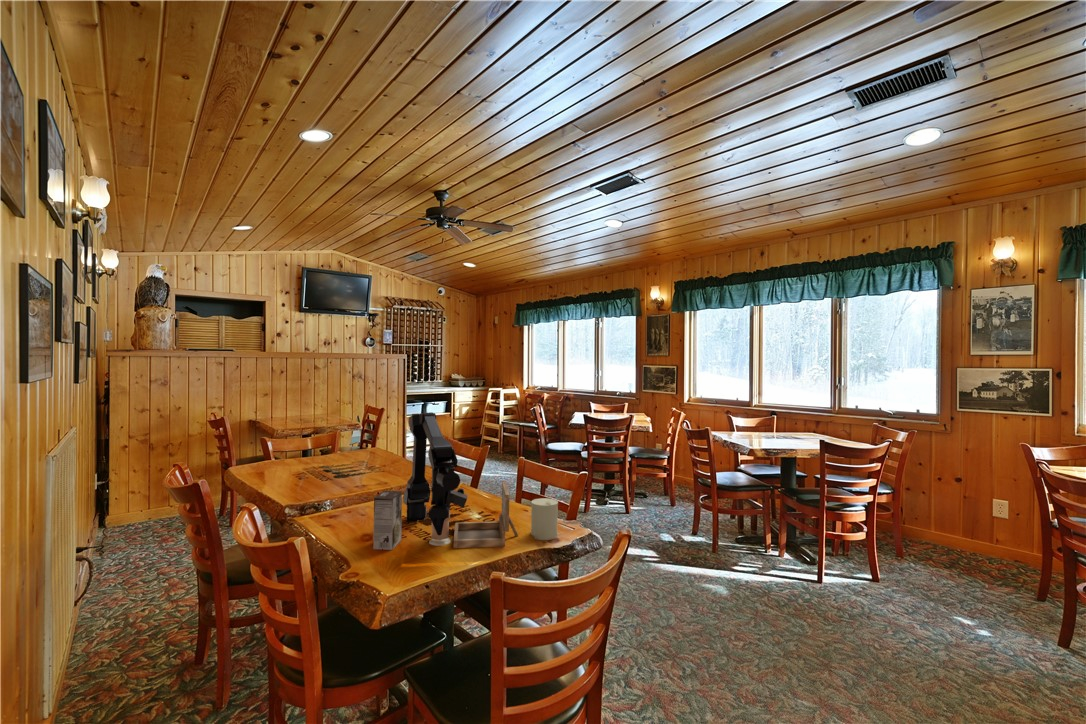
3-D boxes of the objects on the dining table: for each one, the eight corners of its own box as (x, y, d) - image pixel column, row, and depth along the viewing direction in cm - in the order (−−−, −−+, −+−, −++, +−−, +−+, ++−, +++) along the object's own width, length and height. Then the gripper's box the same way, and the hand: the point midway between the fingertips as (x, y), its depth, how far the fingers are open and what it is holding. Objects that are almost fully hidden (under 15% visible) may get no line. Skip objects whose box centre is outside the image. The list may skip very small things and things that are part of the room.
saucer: (427, 548, 161) (427, 545, 161) (429, 540, 168) (429, 538, 168) (450, 547, 162) (450, 545, 162) (451, 539, 169) (451, 537, 169)
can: (539, 542, 168) (540, 505, 168) (525, 533, 176) (526, 498, 176) (563, 537, 173) (563, 501, 173) (548, 529, 181) (548, 495, 181)
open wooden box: (453, 552, 159) (454, 496, 159) (455, 531, 178) (456, 481, 178) (522, 549, 162) (522, 494, 162) (516, 529, 181) (517, 480, 181)
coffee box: (382, 539, 168) (383, 490, 168) (401, 540, 168) (402, 490, 168) (372, 549, 159) (373, 497, 159) (392, 550, 159) (393, 498, 159)
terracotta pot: (429, 540, 162) (430, 518, 162) (431, 534, 168) (431, 512, 168) (449, 539, 162) (449, 517, 162) (449, 533, 168) (450, 512, 168)
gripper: (465, 490, 157) (464, 541, 157) (466, 476, 175) (465, 522, 175) (428, 491, 155) (427, 542, 155) (433, 477, 174) (432, 523, 174)
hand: (440, 532), depth 165 cm, fingers closed on terracotta pot, 5 cm apart
